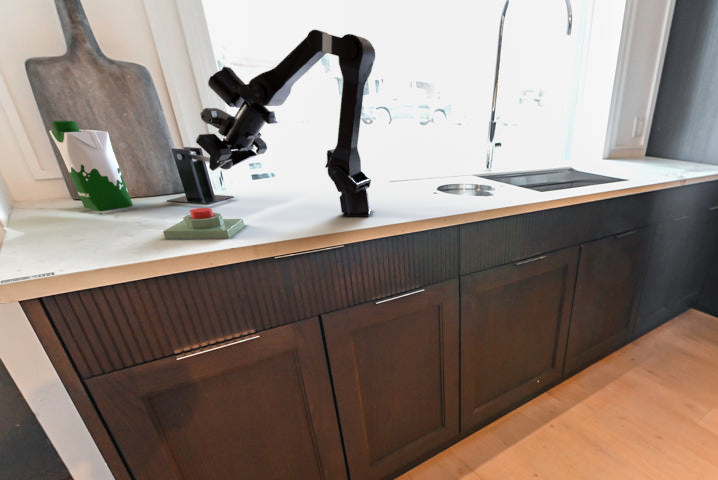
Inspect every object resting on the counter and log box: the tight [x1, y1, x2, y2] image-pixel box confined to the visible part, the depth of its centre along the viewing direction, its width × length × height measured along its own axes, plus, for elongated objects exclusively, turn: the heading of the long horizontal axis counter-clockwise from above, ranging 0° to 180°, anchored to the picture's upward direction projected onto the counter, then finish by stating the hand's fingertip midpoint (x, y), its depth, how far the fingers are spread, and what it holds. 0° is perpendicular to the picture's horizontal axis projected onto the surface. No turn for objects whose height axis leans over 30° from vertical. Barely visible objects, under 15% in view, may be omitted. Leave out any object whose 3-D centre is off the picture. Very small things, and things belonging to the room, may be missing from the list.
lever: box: [190, 150, 233, 171], centre depth 111 cm, size 13×4×4 cm, turn 82°
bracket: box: [166, 146, 235, 206], centre depth 114 cm, size 12×10×14 cm
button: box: [189, 207, 214, 219], centre depth 91 cm, size 4×4×2 cm
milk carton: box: [48, 120, 134, 215], centre depth 102 cm, size 9×9×20 cm
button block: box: [162, 212, 246, 240], centre depth 92 cm, size 12×10×4 cm
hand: (219, 167), depth 112 cm, fingers open, 6 cm apart
